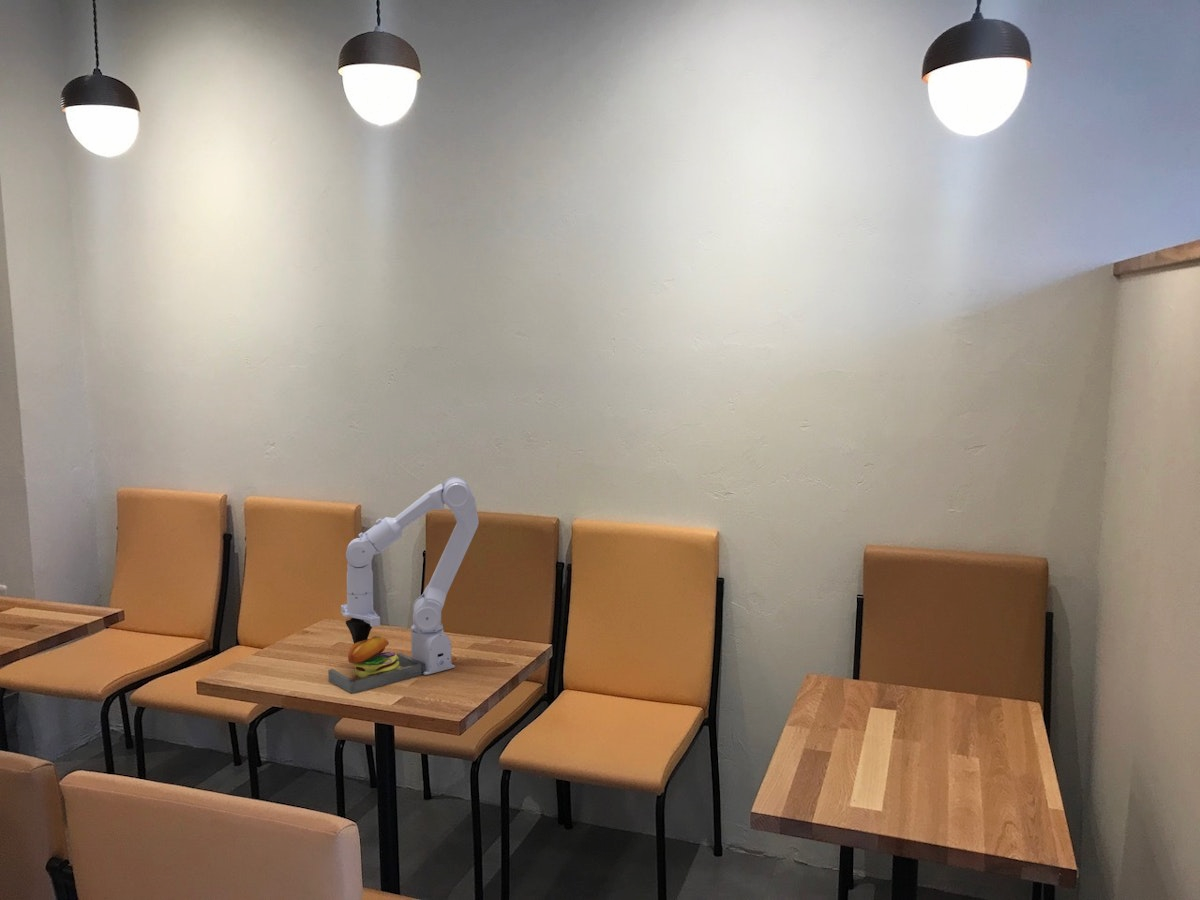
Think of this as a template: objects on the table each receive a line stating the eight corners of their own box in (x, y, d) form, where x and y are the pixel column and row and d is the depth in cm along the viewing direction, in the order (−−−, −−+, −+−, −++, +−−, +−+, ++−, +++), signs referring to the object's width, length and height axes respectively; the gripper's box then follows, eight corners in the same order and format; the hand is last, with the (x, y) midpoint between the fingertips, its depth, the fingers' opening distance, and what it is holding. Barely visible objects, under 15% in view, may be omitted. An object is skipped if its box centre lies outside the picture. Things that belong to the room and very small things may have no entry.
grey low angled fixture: (425, 674, 210) (424, 663, 209) (351, 693, 198) (351, 682, 197) (400, 663, 217) (400, 652, 217) (328, 681, 205) (328, 669, 205)
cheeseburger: (396, 684, 203) (384, 641, 202) (349, 694, 204) (337, 651, 203) (407, 667, 213) (396, 626, 212) (363, 677, 214) (351, 636, 213)
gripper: (328, 588, 213) (329, 646, 215) (359, 601, 203) (360, 662, 204) (356, 583, 218) (357, 640, 219) (388, 595, 207) (388, 655, 209)
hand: (360, 650), depth 212 cm, fingers closed, pressing on cheeseburger
